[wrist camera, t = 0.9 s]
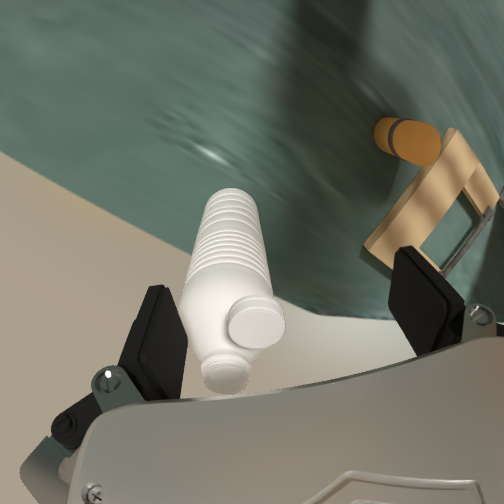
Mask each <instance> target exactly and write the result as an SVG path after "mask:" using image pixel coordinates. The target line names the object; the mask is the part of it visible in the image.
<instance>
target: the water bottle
mask: <svg viewBox="0 0 504 504" xmlns="http://www.w3.org/2000/svg"><path fill="white" fill-rule="evenodd" d="M178 313H179V316H180V319H181V321H182V324H183V326H184V329H185V331H186V334H187V337H188V347H189V348H190V349H191V351H192V352H193V353H194V354H195V356H196V357H197V358H198V359H199V360H200V361H201V363H202V365H201V373H202V375H203V376H204V382H205V385H206V386H207V388H208V389H210V390H211V391H213V392H216V393H220V394H234V393H237V392H240V391H242V390H243V389H244V388H245V387H246V386H247V383H248V377H249V376H250V374H251V371H252V370H251V366H250V365H251V364H252V362H253V361H254V360H255V359H256V358H257V357H258V356H259V355H260V354H261V353H262V352H263V351H264V349H265V348H266V347H268V346H270V345H273V344H274V343H276V342H277V341H278V340H279V339H280V338H281V337H282V336H283V334H284V332H285V320H284V314H283V310H282V307H281V305H280V304H279V303H278V302H277V301H276V300H275V299H274V296H273V291H272V285H271V280H270V275H269V270H268V264H267V258H266V251H265V247H264V241H263V236H262V231H261V226H260V221H259V216H258V210H257V206H256V203H255V201H254V200H253V198H252V197H251V196H250V195H249V194H247V193H246V192H244V191H242V190H240V189H236V188H226V189H222V190H220V191H218V192H216V193H215V194H213V195H212V196H211V197H210V199H209V200H208V202H207V204H206V206H205V210H204V214H203V217H202V221H201V224H200V227H199V231H198V235H197V238H196V242H195V245H194V249H193V254H192V257H191V262H190V265H189V269H188V273H187V277H186V281H185V284H184V289H183V292H182V295H181V299H180V302H179V307H178Z"/></svg>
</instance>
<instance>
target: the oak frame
mask: <svg viewBox="0 0 504 504" xmlns="http://www.w3.org/2000/svg"><path fill="white" fill-rule="evenodd" d="M461 190H462V191H463V193H464V194H465V195H466V197H467V198H468V200H469V201H470V203H471V204H472V206H473V207H474V209H475V210H476V212H477V213H478V215H479V216H481V217H482V218H483V219H482V220H481V222H480V223H479V225H478V226H477V228H476V229H475V230H474V232H473V233H472V235H471V236H470V237H469V239H468V240H467V241H466V243H465V244H464V245H463V247H462V248H461V249H460V251H459V252H458V253H457V255H456V256H455V257H454V258H453V260H452V261H451V262H450V263H449V265H448V266H447V267H446V268H445V270H444V271H443V272H442V271H441V270H440V269H439V268H438V267H437V266H436V265H435V264H434V263H433V262H432V261H431V260H430V259H429V258H428V257H427V256H426V255H425V254H424V253H423V252H422V251H421V250H420V249H419V247H420V246H421V244H422V243H423V242H424V241H425V239H426V238H427V237H428V236H429V234H430V233H431V232H432V230H433V229H434V228H435V226H436V225H437V224H438V222H439V221H440V220H441V218H442V217H443V216H444V214H445V213H446V212H447V210H448V209H449V207H450V206H451V205H452V203H453V202H454V200H455V199H456V197H457V196H458V195H459V193H460V192H461ZM499 198H500V197H499V195H498V193H497V191H496V189H495V187H494V186H493V184H492V182H491V180H490V178H489V177H488V175H487V173H486V172H485V170H484V168H483V167H482V165H481V163H480V162H479V160H478V159H477V157H476V156H475V154H474V153H473V151H472V150H471V148H470V147H469V145H468V144H467V142H466V141H465V139H464V138H463V136H462V135H461V134H460V132H459V131H458V130H457V129H453V128H448V130H447V131H446V133H445V134H444V136H443V138H442V139H441V150H440V154H439V156H438V158H437V160H436V161H435V162H434V163H433V164H431V165H429V166H426V167H422V168H421V170H420V171H419V172H418V174H417V175H416V177H415V178H414V179H413V181H412V182H411V183H410V185H409V186H408V187H407V189H406V190H405V192H404V193H403V194H402V196H401V197H400V198H399V200H398V201H397V202H396V203H395V205H394V206H393V207H392V209H391V210H390V211H389V213H388V214H387V215H386V216H385V218H384V219H383V220H382V221H381V223H380V224H379V225H378V227H377V228H376V229H375V230H374V232H373V233H372V234H371V235H370V236H369V238H368V239H367V240H366V241H365V243H364V244H363V245H364V246H365V247H366V249H367V250H368V251H369V252H370V253H372V254H373V255H374V256H376V257H377V258H378V259H380V260H381V261H382V262H383V263H385V264H386V265H387V266H389V267H390V268H391V269H392V270H393V264H394V255H395V252H396V251H398V249H399V248H400V247H404V246H409V245H412V246H413V247H414V248H415V249H416V250H417V251H418V252H419V253H420V254H421V255H422V256H423V257H424V258H425V259H426V260H427V261H428V262H429V263H430V264H431V265H432V266H433V267H434V268H435V269H436V270H437V271H438V272H439V273H440V274H441V275H442V276H443V277H444V278H445V279H446V278H447V277H446V276H447V275H448V274H449V273H450V271H451V270H452V269H453V268H454V266H455V265H456V264H457V263H458V261H459V260H460V259H461V257H462V256H463V255H464V254H465V252H466V251H467V250H468V248H469V247H470V246H471V244H472V243H473V242H474V240H475V239H476V237H477V236H478V235H479V233H480V232H481V230H482V229H483V227H484V226H485V225H486V223H487V222H488V221H490V219H491V218H492V216H493V215H494V212H493V210H492V209H493V208H494V206H495V204H496V203H497V201H498V200H499Z"/></svg>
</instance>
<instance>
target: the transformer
mask: <svg viewBox="0 0 504 504" xmlns="http://www.w3.org/2000/svg"><path fill="white" fill-rule="evenodd" d="M499 197H500V198H499V205H500V206H501V207H502V208H503V209H504V188H503V190H502V193H501V194H500V196H499Z"/></svg>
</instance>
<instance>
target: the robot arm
mask: <svg viewBox="0 0 504 504" xmlns="http://www.w3.org/2000/svg"><path fill="white" fill-rule="evenodd" d="M388 306H389V309H390V311H391V313H392V315H393V316H394V318H395V319H396V321H397V323H398V324H399V326H400V328H401V329H402V331H403V333H404V334H405V336H406V338H407V339H408V341H409V343H410V345H411V346H412V348H413V350H414V352H415V353H416V355H417V357H415V358H411V359H408V360H405V361H402V362H398V363H395V364H392V365H388V366H385V367H381V368H378V369H374V370H370V371H366V372H362V373H358V374H354V375H349V376H345V377H341V378H337V379H332V380H327V381H322V382H317V383H312V384H306V385H301V386H295V387H289V388H282V389H276V390H269V391H262V392H255V393H245V394H237V395H226V396H214V397H203V398H202V397H201V398H187V399H180V394H181V387H182V380H183V373H184V366H185V359H186V353H187V347H188V337H187V334H186V331H185V329H184V326H183V324H182V321H181V319H180V316H179V313H178V311H177V308H176V306H175V303H174V300H173V298H172V295H171V292H170V290H169V288H168V287H167V288H165V287H164V285H155V286H150V287H149V288H148V290H147V293H146V295H145V298H144V300H143V303H142V305H141V308H140V310H139V313H138V315H137V318H136V320H134V322H133V324H132V327H131V329H130V332H129V335H128V337H127V340H126V343H125V345H124V348H123V351H122V354H121V356H120V359H119V362H118V365H117V366H114V365H112V366H107V367H105V368H103V369H101V370H100V371H98V372H97V373H96V375H95V376H94V377H93V379H92V382H91V387H92V391H93V392H92V393H90V394H89V395H87V396H86V397H84V398H83V399H81V400H80V401H79V402H77V403H75V404H74V405H72V406H71V407H70V408H68V409H66V410H65V411H64V412H62V413H60V414H59V415H58V416H57V417H56V418H55V419H54V421H53V423H52V426H51V433H52V435H51V437H50V438H49V437H48V436H46V437H45V438H44V439H43V440H42V441H41V443H40V444H39V445H38V446H37V447H36V449H34V451H33V452H32V453H31V454H30V455H29V456H28V458H27V459H26V460H25V461H24V462H23V464H22V465H21V467H20V478H21V480H22V482H23V483H24V485H25V486H26V487H27V489H28V490H29V491H30V493H31V494H32V495H33V497H34V498H35V499H36V500H37V502H38V503H39V504H504V325H501V324H498V323H496V315H495V314H494V312H493V311H492V310H491V309H490V308H489V307H487V306H486V305H483V304H478V303H475V304H471V305H468V306H467V308H466V307H465V305H464V300H463V298H462V297H461V296H460V295H459V294H458V293H457V292H456V290H455V289H454V288H453V287H452V286H451V285H450V284H449V283H448V282H447V281H446V280H445V278H444V277H443V276H442V275H441V274H440V273H439V272H438V271H437V270H436V269H435V268H434V267H433V266H432V265H431V264H430V263H429V262H428V261H427V260H426V259H425V258H424V257H423V256H422V255H421V254H420V253H419V252H418V251H417V250H416V249H415V248H414V247H413V246H412V245H409V246H404V247H400V248H399V249H398V251H396V252H395V255H394V264H393V272H392V280H391V287H390V294H389V300H388Z"/></svg>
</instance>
